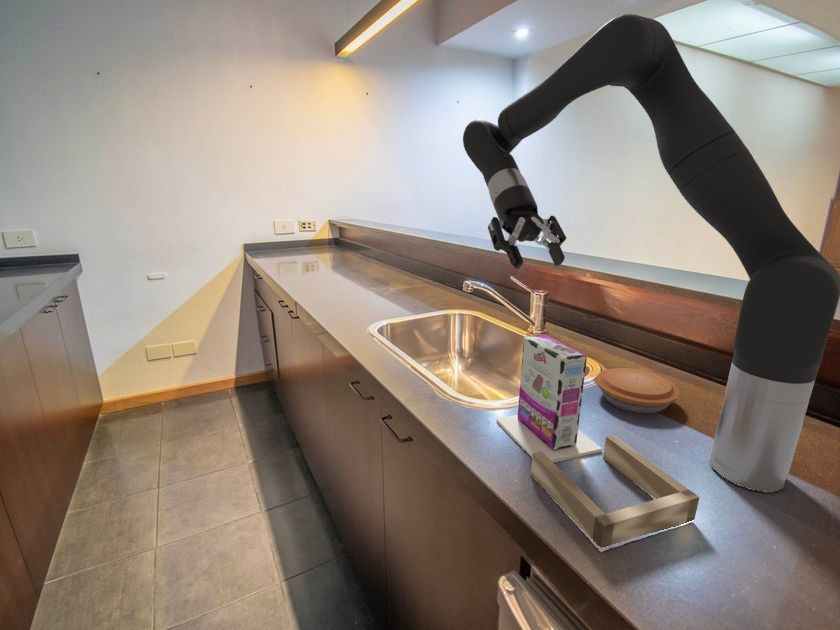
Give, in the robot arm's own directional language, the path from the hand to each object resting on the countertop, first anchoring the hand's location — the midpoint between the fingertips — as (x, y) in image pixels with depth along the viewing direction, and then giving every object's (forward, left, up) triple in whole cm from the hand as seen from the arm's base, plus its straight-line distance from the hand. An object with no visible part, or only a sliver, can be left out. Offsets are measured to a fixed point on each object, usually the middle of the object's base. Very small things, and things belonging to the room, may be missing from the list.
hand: (540, 264), depth 76 cm
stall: (+4, +26, -29) cm, 39 cm away
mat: (+3, +10, -29) cm, 31 cm away
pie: (-22, +5, -29) cm, 37 cm away
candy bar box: (+3, +10, -28) cm, 30 cm away
